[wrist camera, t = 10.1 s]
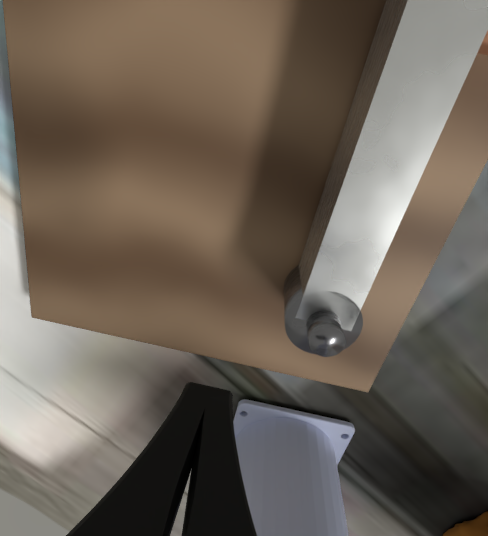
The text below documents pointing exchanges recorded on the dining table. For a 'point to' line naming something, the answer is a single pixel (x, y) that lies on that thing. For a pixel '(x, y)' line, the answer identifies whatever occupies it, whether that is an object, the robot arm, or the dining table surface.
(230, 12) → the brown wooden board
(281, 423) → the robot arm
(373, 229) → the bar
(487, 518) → the coffee package
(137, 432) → the dining table surface
